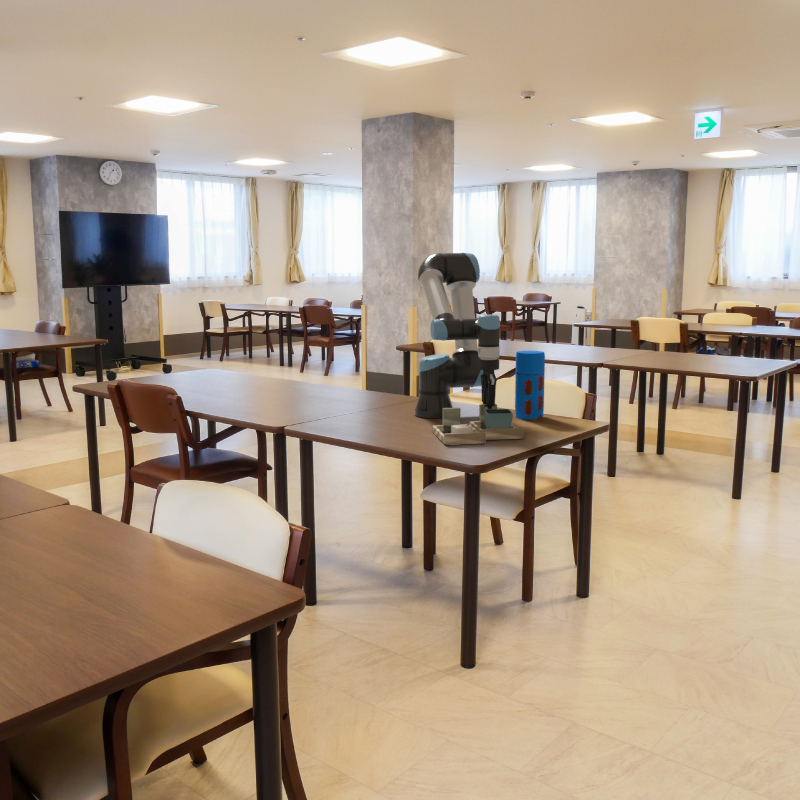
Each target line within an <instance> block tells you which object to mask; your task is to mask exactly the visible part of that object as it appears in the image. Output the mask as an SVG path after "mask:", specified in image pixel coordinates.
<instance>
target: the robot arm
mask: <svg viewBox="0 0 800 800" xmlns="http://www.w3.org/2000/svg"><path fill="white" fill-rule="evenodd" d="M480 270H481V269H480V264H479V260H478V258H477V256H476V255H475V254H474V253H471V252H470V253H469V252H468V253H467V252H454V253H453V252H449V253H448V252H444V253H443V252H436V253H433V254H431V255H429V256H428V257H426V258H425V259H424V260H423V261H422V263H421V264H420V266H419V269H418V272H417V279H418V283H419V285H420V286H421V288H422V289H423V290H424V293H425V297H426V299H427V304H428V307H429V309H430V313H431V317H432V319H433V320H431V322H430V327H429V328H430V329H429V330H430V332H429V333H430V337H431V338H432V339H433V340H434V341H454V347H455V350H454V351H453V352H452V354H451V355H452V356H451V357H450V355H449V354H448V353H441V354H440V353H439V354H432V355H426V356H423V357H422V358H420V360H419V362H418V372H419V373H418V398H417V401H416V404H415V408H414V416H416V417H419V418H427V419H443V408H454V407H453V404H452V400H451V398H450V389H451V388H453V389H454V388H455V389H456V388H475V387H481V402H482V404H486V405H484V407H485V409H493V406H495V404H496V389H497V379H496V374H495V371H498V370H500V359H499V358H500V356H501V355H500V351H501V349H500V348H501V346H500V337H501V335H500V334H501V333H500V330H501V328H500V327H501V323H500V319H501V318H500V316H499V315H498V314H480V315H478V317H476V315H475V304H474V303H475V302H474V292H473V291H474V288H475V287H476V286H477V283H478V282H479V280H480V276H481V275H480V273H481V272H480ZM444 283H445V284H446V288H445V285H444ZM446 289H447V290H448V291H450V295H451V304H450V301H449V297H448V295H447V291H446Z"/></svg>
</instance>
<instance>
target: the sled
mask: <svg viewBox="0 0 800 800" xmlns="http://www.w3.org/2000/svg"><path fill="white" fill-rule="evenodd" d="M453 425H467V426H469V427H471V433H451V426H453ZM431 432H432V433H433V434H434V435H435V436H436V437H437V438H438V440H440V442H441V443H442V444H444V445H445V446H448V445H449V446H451V445H452V446H453V445H471V444H472V445H475V444H486V440H485V439H486V433H485V432H479V431H477V430H476V429H475V428H474V427H473V426H471V425H470V424H469V423H463V424H462V423H461V407H453V408H443V418H442V424H436V425H435V424H434V425H431ZM444 432H445V433H444ZM446 432H447V433H446ZM448 432H450V433H448Z"/></svg>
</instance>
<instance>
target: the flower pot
mask: <svg viewBox="0 0 800 800" xmlns="http://www.w3.org/2000/svg"><path fill="white" fill-rule="evenodd" d="M513 416H514V413H513V412H512V411H511V409H509V408H497V409H484V418H485V425H486V427H485V429H495V428H511V426H512V425H513Z"/></svg>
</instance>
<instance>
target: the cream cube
mask: <svg viewBox="0 0 800 800" xmlns="http://www.w3.org/2000/svg"><path fill="white" fill-rule="evenodd" d="M450 433H471V427H469V426H467V425H453V426H451V431H450Z"/></svg>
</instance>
